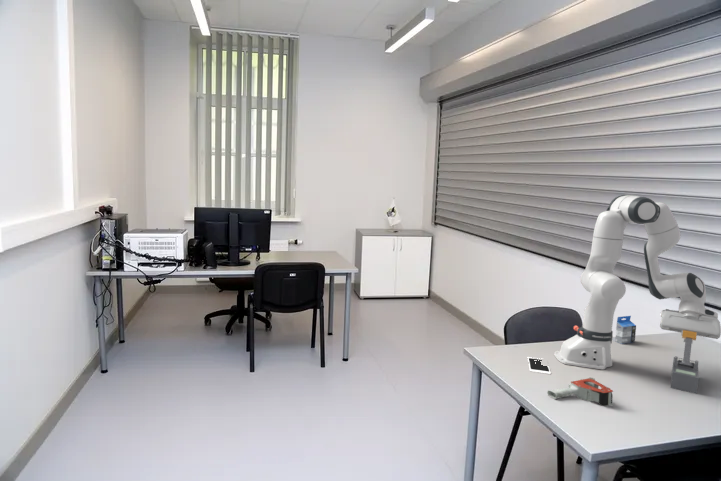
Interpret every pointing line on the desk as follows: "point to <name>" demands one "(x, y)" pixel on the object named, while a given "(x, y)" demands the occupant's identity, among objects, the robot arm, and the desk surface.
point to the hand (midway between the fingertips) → (688, 342)
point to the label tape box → (625, 330)
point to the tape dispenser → (585, 391)
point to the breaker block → (684, 376)
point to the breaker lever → (687, 348)
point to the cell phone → (537, 366)
